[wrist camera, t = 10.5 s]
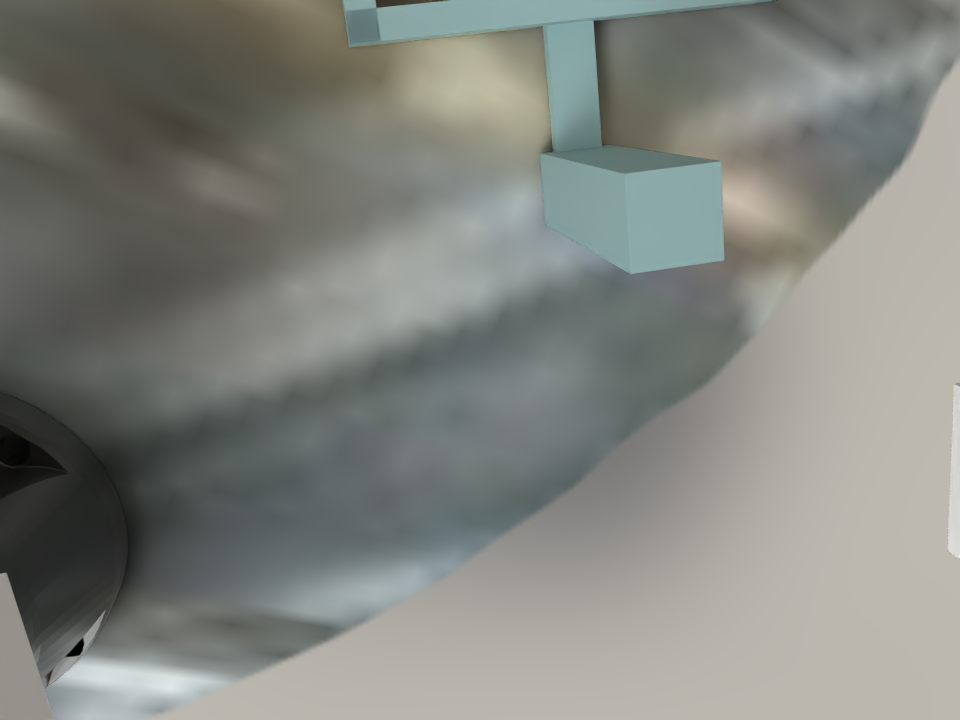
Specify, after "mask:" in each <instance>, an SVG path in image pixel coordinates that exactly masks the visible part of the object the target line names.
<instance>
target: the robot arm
mask: <svg viewBox="0 0 960 720" xmlns="http://www.w3.org/2000/svg"><path fill="white" fill-rule="evenodd" d="M951 452H952V453H951V477H950V478H951V479H950V504H949V506H950V507H949V531H948V551H949V552H950V553H952V554H953V555H954V556H956V557H957V558H959V559H960V383H957V384H954V399H953V425H952V451H951ZM127 555H128V535H127V527H126V521H125V516H124V512H123V509H122V505H121V502H120V499H119V497H118V494H117V492H116V490H115V488H114V485H113V483H112V481H111V480H110V478H109V476H108V474H107V473H106V471H105V469H104V468H103V467H102V465H101V464H100V462H99V461H98V460H97V458H96V457H95V456H94V455H93V453H92V452H91V451H90V450H89V449H88V448H87V447H86V446H85V444H84V443H83V442H82V441H81V440H80V439H79V438H77V437H76V436H75V435H74V434H73V433H72V432H71V431H70V430H68V429H67V428H66V427H65V426H63V425H62V424H61V423H59V422H58V421H56V420H55V419H54V418H52V417H51V416H49V415H47V414H46V413H44V412H42V411H41V410H39V409H37V408H35V407H33V406H31V405H29V404H27V403H25V402H23V401H21V400H18V399H16V398H14V397H11V396H8V395H6V394H3V393H0V720H54V717H53V714H52V711H51V708H50V705H49V702H48V699H47V695H46V692H45V688H46V687H47V686H49V685H50V684H52V683H53V682H54V681H56V680H57V679H58V678H59V677H61V676H62V675H63V674H64V673H65V672H67V671H68V670H69V669H70V668H71V667H72V666H73V665H74V664H75V663H76V662H77V661H78V660H79V659H80V658H81V657H82V656H83V655H84V654H85V652H86V651H87V650H88V648H89V647H90V646H91V644H92V643H93V642H94V641H95V639H96V638H97V636H98V634H99V633H100V631H101V630H102V628H103V626H104V624H105V622H106V620H107V618H108V616H109V613H110V611H111V609H112V607H113V604H114V602H115V600H116V598H117V595H118V593H119V590H120V588H121V585H122V582H123V578H124V574H125V570H126V564H127Z"/></svg>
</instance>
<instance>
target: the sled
mask: <svg viewBox="0 0 960 720" xmlns="http://www.w3.org/2000/svg"><path fill="white" fill-rule="evenodd" d="M772 1H776V0H448V1H439V2H429V3H419V4H410V5H400V6H390V7H381V8H376V1H375V0H342V3H343V10H344V17H345V24H346V31H347V38H348V44H349V48H351V47H361V46H370V45H379V44H388V43H397V42H407V41H416V40H425V39H434V38H443V37H453V36H462V35H471V34H480V33H490V32H499V31H508V30H517V29H526V28H536V27H543V39H544V51H545V62H546V74H547V86H548V98H549V110H550V122H551V134H552V146H553V152H545V153H539V156H540V167H541V179H542V190H543V201H544V212H545V224H546V226H548V227H549V228H551V229H553V230H555V231H556V232H558V233H560V234H562V235H563V236H565V237H567V238H568V239H570V240H572V241H574V242H575V243H577V244H579V245H581V246H582V247H584V248H586V249H588V250H589V251H591V252H593V253H595V254H596V255H598V256H600V257H602V258H603V259H605V260H607V261H609V262H610V263H612V264H614V265H616V266H617V267H619V268H621V269H622V270H624V271H626V272H628V273H629V274H634V273H641V272H648V271H655V270H662V269H668V268H675V267H682V266H689V265H696V264H703V263H710V262H717V261H724V236H723V202H722V168H721V161H716V160H710V159H703V158H696V157H690V156H683V155H676V154H670V153H663V152H656V151H650V150H643V149H636V148H630V147H623V146H616V145H610V144H609V145H602V139H601V124H600V110H599V95H598V80H597V66H596V51H595V36H594V22H593V21H600V20H609V19H619V18H628V17H637V16H646V15H655V14H665V13H674V12H683V11H692V10H702V9H711V8H720V7H729V6H738V5H748V4H757V3H766V2H772Z"/></svg>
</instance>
